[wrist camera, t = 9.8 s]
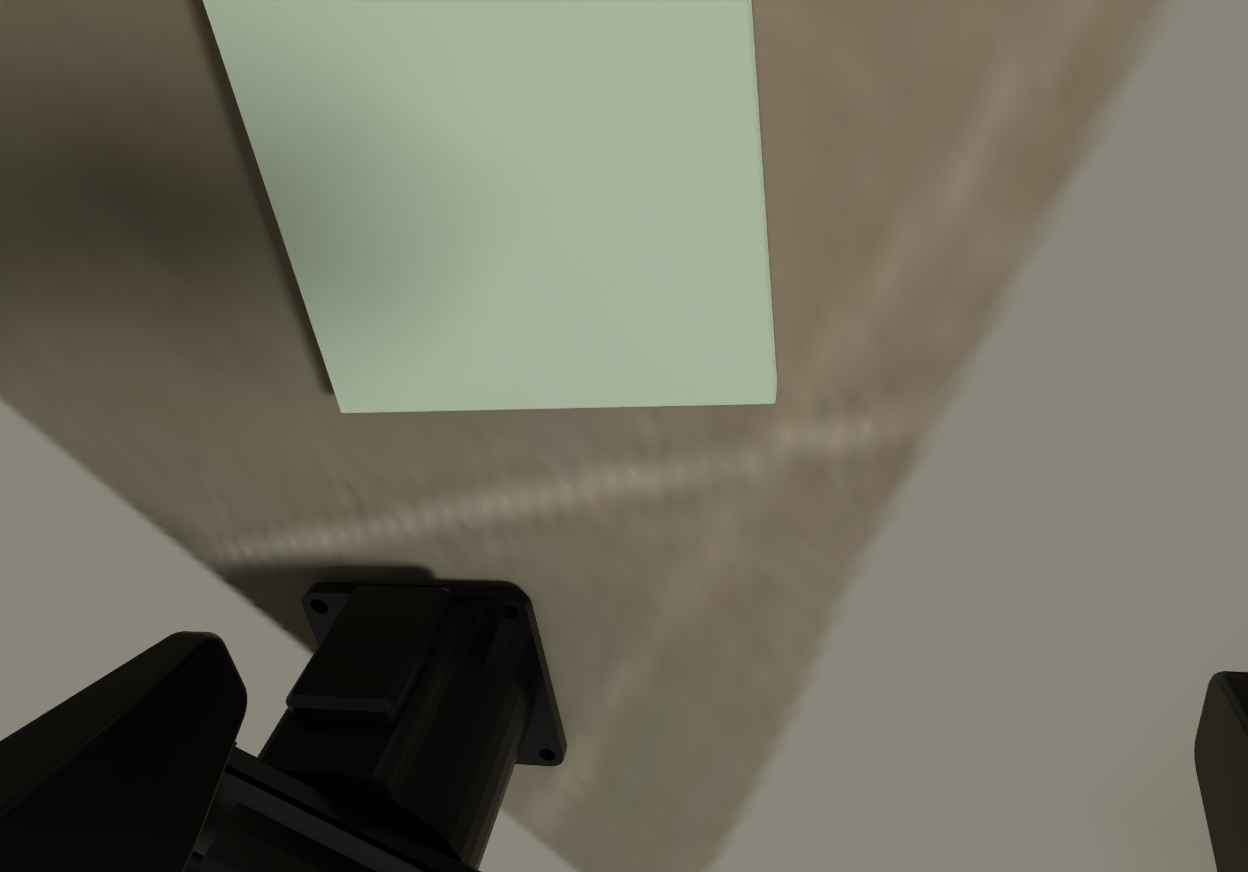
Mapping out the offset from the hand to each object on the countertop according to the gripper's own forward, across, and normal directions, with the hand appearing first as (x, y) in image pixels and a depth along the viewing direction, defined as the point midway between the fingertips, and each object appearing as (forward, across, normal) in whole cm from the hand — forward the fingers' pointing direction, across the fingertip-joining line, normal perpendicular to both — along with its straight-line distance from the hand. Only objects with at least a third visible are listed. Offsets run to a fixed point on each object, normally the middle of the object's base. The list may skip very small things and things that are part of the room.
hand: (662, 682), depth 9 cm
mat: (+12, +5, -1) cm, 14 cm away
